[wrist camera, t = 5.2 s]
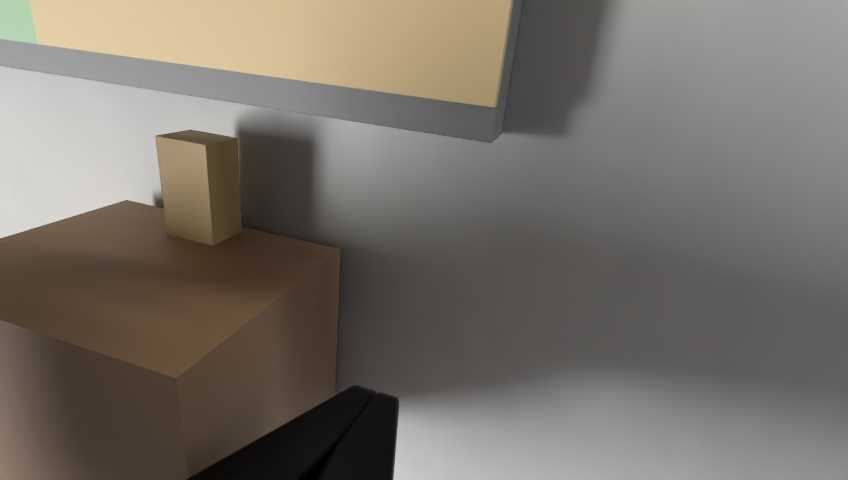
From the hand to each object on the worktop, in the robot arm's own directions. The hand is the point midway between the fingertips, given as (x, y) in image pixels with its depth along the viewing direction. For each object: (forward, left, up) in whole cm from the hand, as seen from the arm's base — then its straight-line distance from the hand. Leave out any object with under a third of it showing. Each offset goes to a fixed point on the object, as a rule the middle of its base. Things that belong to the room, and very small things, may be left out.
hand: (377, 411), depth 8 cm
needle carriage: (+4, 0, -2) cm, 4 cm away
